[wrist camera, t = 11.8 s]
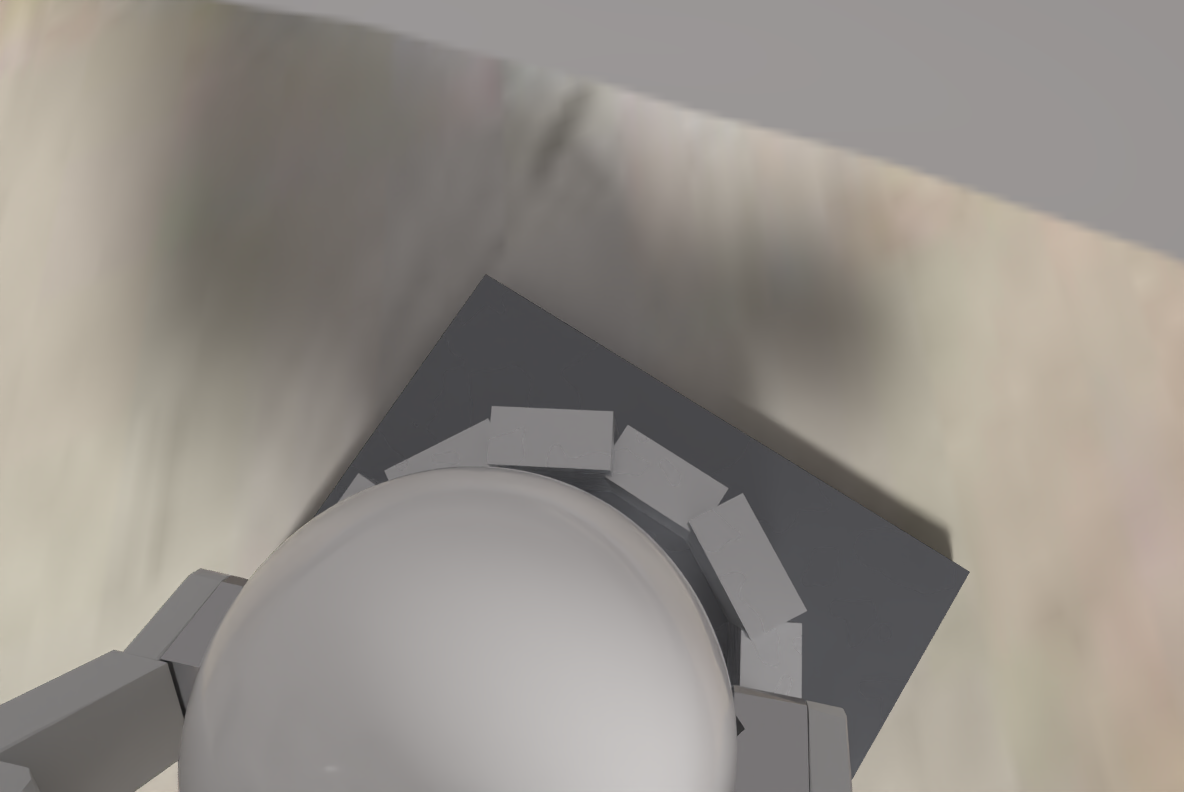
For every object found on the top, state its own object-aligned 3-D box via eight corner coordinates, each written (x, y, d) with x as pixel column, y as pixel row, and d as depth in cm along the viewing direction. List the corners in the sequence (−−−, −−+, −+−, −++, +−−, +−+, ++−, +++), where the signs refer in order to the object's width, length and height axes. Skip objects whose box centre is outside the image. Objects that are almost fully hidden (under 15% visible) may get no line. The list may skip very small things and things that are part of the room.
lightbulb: (689, 503, 18) (721, 390, 7) (722, 819, 17) (821, 1236, 6) (404, 528, 19) (50, 455, 8) (413, 838, 17) (-3, 1259, 6)
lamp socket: (177, 734, 21) (33, 779, 16) (493, 287, 23) (449, 207, 18) (647, 1111, 18) (644, 1300, 14) (954, 572, 20) (1048, 568, 16)
